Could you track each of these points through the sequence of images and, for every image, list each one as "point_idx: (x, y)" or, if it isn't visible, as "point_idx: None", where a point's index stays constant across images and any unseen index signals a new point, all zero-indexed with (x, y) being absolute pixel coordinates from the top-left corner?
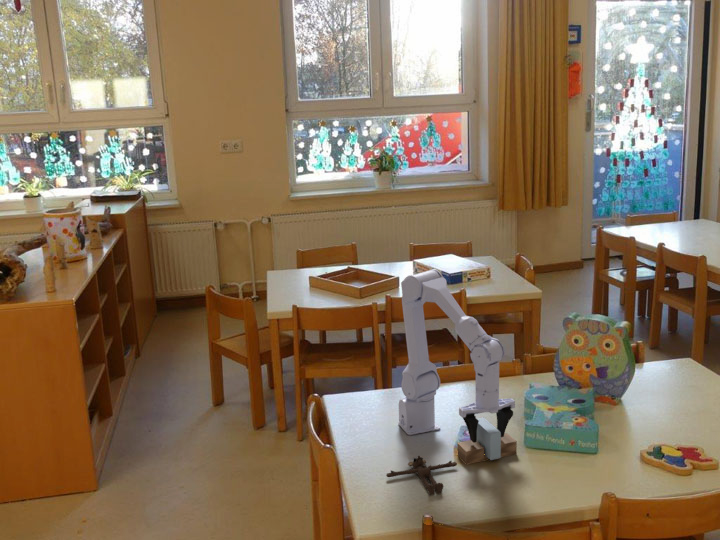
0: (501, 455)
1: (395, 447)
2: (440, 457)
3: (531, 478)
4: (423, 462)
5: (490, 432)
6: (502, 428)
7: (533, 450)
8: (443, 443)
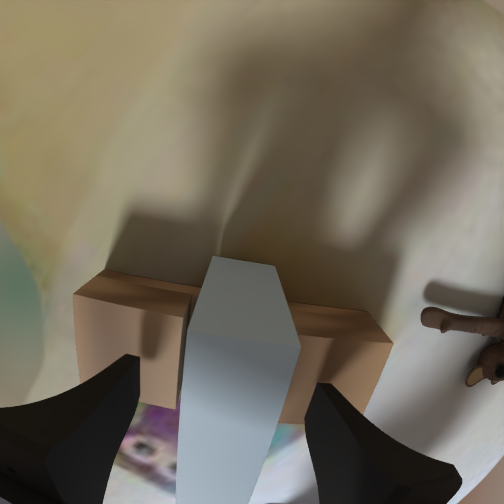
0: (180, 287)
1: None
2: (396, 394)
3: (191, 44)
4: (496, 359)
5: (276, 372)
6: (116, 388)
7: (31, 254)
8: None
